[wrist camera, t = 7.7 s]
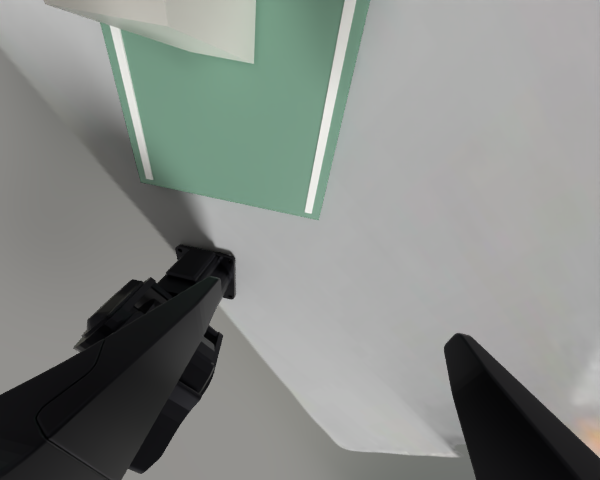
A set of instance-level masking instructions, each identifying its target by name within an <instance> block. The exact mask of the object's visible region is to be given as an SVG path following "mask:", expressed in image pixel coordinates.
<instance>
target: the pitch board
mask: <svg viewBox="0 0 600 480" xmlns="http://www.w3.org/2000/svg"><path fill="white" fill-rule="evenodd" d="M369 3H370V0H256V16H255V48H254V64H252V63H247V62H241V61H236V60H231V59H225V58H220V57H215V56H209V55H204V54H199V53H193V52H189V51H186V50H183V49H180V48H177V47H174V46H171V45H168V44H165V43H162V42H159V41H156V40H153V39H150V38H147V37H144V36H141V35H138V34H135V33H132V32H129V31H126V30H123V29H119V28H116V27H113V26H110V25H107V24H104V23H101V22H100V24H101V28H102V32H103V36H104V40H105V44H106V48H107V52H108V55H109V59H110V63H111V67H112V71H113V75H114V79H115V83H116V87H117V91H118V95H119V99H120V103H121V107H122V111H123V114H124V118H125V122H126V126H127V130H128V134H129V138H130V142H131V146H132V150H133V154H134V158H135V162H136V166H137V169H138V173H139V177H140V181H141V182H142V183H146V184H151V185H156V186H160V187H165V188H170V189H174V190H179V191H184V192H189V193H193V194H198V195H203V196H207V197H212V198H217V199H221V200H226V201H231V202H235V203H240V204H245V205H249V206H254V207H259V208H263V209H268V210H273V211H278V212H282V213H287V214H292V215H296V216H301V217H306V218H310V219H315V220H319V216H320V212H321V208H322V204H323V199H324V195H325V191H326V187H327V182H328V178H329V174H330V170H331V165H332V161H333V157H334V153H335V148H336V144H337V140H338V135H339V131H340V127H341V123H342V118H343V114H344V110H345V106H346V101H347V97H348V93H349V89H350V84H351V80H352V76H353V72H354V67H355V63H356V59H357V54H358V50H359V46H360V42H361V37H362V33H363V29H364V25H365V20H366V16H367V12H368V8H369Z"/></svg>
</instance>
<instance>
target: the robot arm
mask: <svg viewBox="0 0 600 480" xmlns="http://www.w3.org/2000/svg"><path fill="white" fill-rule="evenodd" d="M176 254H177V259H178V261H177V262H176V263H175V264H174V265H173V266H172V267H171V268H170V269H169V270H168V271H167V272H166V275H165V276H164V277H163V278H162V279H161V280H160V281H159V282H158V283H156V282H155V280H154V279H153V278H151V277H150V278H149V279H147V280H146V281H144V282H142V281H137V280H131V281H130V282H128V283H127V284H126V285H125V286H124V287H123V288H121V289H120V290H119V291H118V292H117V293H116V294H115V295H114V296H112V297H111V298H110V299H109V300H108V301H107V302H106V303H105V304H104V305H103V306H101V307H100V308H99V309H98V310H97V311H96V312H95V313H94V314H93V315H92V316H91V317H90V318H89V319H88V320H87V330H86V331H85V332H84V334H83V335H82V338H81V339H80V340H79V342H78V343H77V344H76V345H75V346H74V349H75V350H77V351H79V352H80V353H78V354H76V355H75V356H73V357H71V358H69V359H68V360H66V361H64V362H62V363H60V364H59V365H57V366H55V367H53V368H51V369H49V370H47V371H45V372H44V373H42V374H40V375H38V376H36V377H34V378H32V379H30V380H28V381H26V382H24V383H22V384H21V385H19V386H17V387H15V388H13V389H11V390H9V391H7V392H5V393H3V394H1V395H0V480H121V479H122V478H123V476H124V474H125V473H126V470H127V469H130V470H132V471H135V472H137V473H140V474H142V473H144V472H145V471H146V470H147V469H148V468H149V467H151V466H152V465H153V464H154V463H155V462H156V461H157V460H158V459H159V458H160V457H161V456H162V454H163V453H164V451H165V449H166V447H167V446H168V444H169V442H170V440H171V439H172V437H173V436H174V434H175V432H176V431H177V429H178V427H179V426H180V424H181V423H182V421H183V420H184V419H185V417H186V416H187V414H188V413H189V412H190V411H191V409H192V408H193V407H194V406H195V405H196V404H197V403H198V402H199V400H200V399H201V397H202V395H203V393H204V392H205V390H206V389H207V387H208V386H209V384H210V382H211V379H212V377H213V374H214V370H215V366H216V362H217V358H218V354H219V350H220V346H221V342H222V338H223V335H222V334H221V333H220V332H217V331H215V330H214V329H213V328H212V327H211V326H209V323H210V321H211V318H212V316H213V314H214V312H215V309H216V307H217V306H218V304H219V303H220V301H221V299H222V298H227V299H234V297H235V295H236V288H235V258H234V257H233V256H230V255H226V254H221V253H217V252H212V251H208V250H203V249H199V248H194V247H190V246H185V245H178V246H177V247H176ZM230 260H231V261H230ZM444 353H445V359H446V364H447V370H448V375H449V381H450V386H451V391H452V395H453V399H454V403H455V407H456V410H457V414H458V417H459V421H460V424H461V428H462V431H463V435H464V438H465V442H466V445H467V449H468V452H469V456H470V459H471V463H472V466H473V470H474V474H475V477H476V480H600V458H599V457H598V456H597V455H596V454H595V453H594V452H593V451H592V450H591V449H590V448H589V447H588V446H586V445H585V444H584V443H583V442H582V441H581V440H580V439H579V438H578V437H577V436H576V435H575V434H574V433H573V432H572V431H571V430H570V429H568V428H567V427H566V426H565V425H564V424H563V423H562V422H561V421H560V420H559V419H558V418H557V417H556V416H555V415H554V414H553V413H552V412H551V411H549V410H548V409H547V408H546V407H545V406H544V405H543V404H542V403H541V402H540V401H539V400H538V399H537V398H536V397H535V396H534V395H533V394H531V393H530V392H529V391H528V390H527V389H526V388H525V387H524V386H523V385H522V384H521V383H520V382H519V381H518V380H517V379H516V378H515V377H513V376H512V375H511V374H510V373H509V372H508V371H507V370H506V369H505V368H504V367H503V366H502V365H501V364H500V363H499V362H498V361H497V360H495V359H494V358H493V357H492V356H491V355H490V354H489V353H488V352H487V351H486V350H485V349H484V348H483V347H482V346H481V345H480V344H479V343H477V342H476V341H475V340H474V339H473V338H472V337H471V336H469V335H466V334H461V333H456V334H455V335H454V336H453V337H452V338H451V339H450V340H449V341H448V342H447V343H446V344H445V346H444Z"/></svg>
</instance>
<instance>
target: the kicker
mask: <svg viewBox="0 0 600 480" xmlns="http://www.w3.org/2000/svg"><path fill="white" fill-rule="evenodd" d="M44 2H45V4H47V5H50V6H53V7H56V8H59V9H62V10H65V11H68V12H71V13H74V14H77V15H80V16H83V17H86V18H89V19H92V20H95V21H98V22H101V23H104V24H107V25H110V26H113V27H116V28H119V29H123V30H126V31H129V32H132V33H135V34H138V35H141V36H144V37H147V38H150V39H153V40H156V41H159V42H162V43H165V44H168V45H171V46H174V47H177V48H180V49H183V50H186V51H189V52H193V53H199V54H204V55H209V56H215V57H220V58H225V59H231V60H236V61H241V62H247V63H252V64H254V48H255V16H256V0H44Z"/></svg>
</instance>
